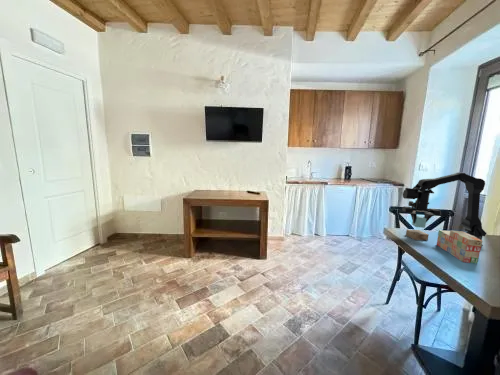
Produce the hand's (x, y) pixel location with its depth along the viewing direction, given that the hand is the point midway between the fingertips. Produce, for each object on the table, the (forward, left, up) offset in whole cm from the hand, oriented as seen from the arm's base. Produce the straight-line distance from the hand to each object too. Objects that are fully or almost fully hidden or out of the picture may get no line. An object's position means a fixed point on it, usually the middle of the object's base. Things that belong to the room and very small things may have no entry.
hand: (418, 223), depth 137 cm
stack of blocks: (-10, +20, -9) cm, 24 cm away
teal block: (0, 0, -2) cm, 2 cm away
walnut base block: (0, 0, -9) cm, 9 cm away
